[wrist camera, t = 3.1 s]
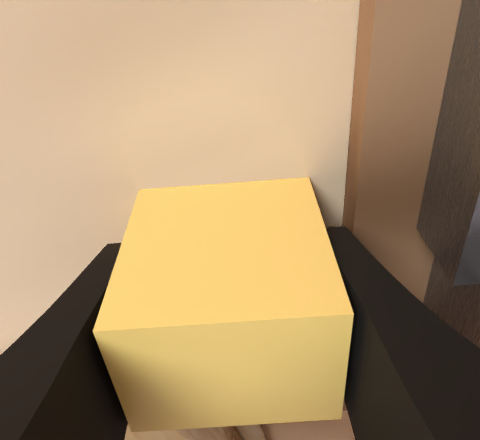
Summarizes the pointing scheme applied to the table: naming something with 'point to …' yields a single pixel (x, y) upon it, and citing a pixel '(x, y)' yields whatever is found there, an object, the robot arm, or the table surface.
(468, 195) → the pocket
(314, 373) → the block
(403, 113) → the board
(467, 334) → the block
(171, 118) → the table surface
